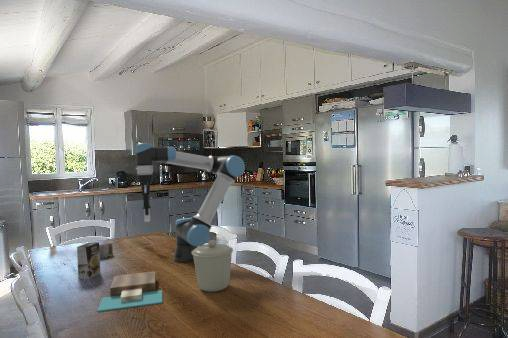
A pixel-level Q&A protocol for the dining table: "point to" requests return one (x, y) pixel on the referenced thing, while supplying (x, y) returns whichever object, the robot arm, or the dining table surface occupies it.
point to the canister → (213, 266)
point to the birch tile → (131, 295)
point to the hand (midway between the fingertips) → (147, 221)
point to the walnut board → (133, 282)
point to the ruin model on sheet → (106, 250)
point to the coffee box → (88, 260)
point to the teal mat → (116, 303)
